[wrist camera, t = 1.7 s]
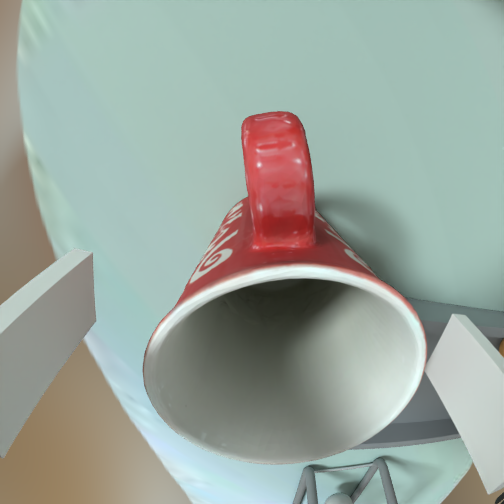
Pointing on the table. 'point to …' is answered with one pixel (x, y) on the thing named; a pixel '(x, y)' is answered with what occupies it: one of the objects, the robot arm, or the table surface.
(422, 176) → the table surface
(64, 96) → the table surface
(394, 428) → the tray
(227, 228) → the mug
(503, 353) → the ball
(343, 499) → the newton's cradle
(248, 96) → the table surface
